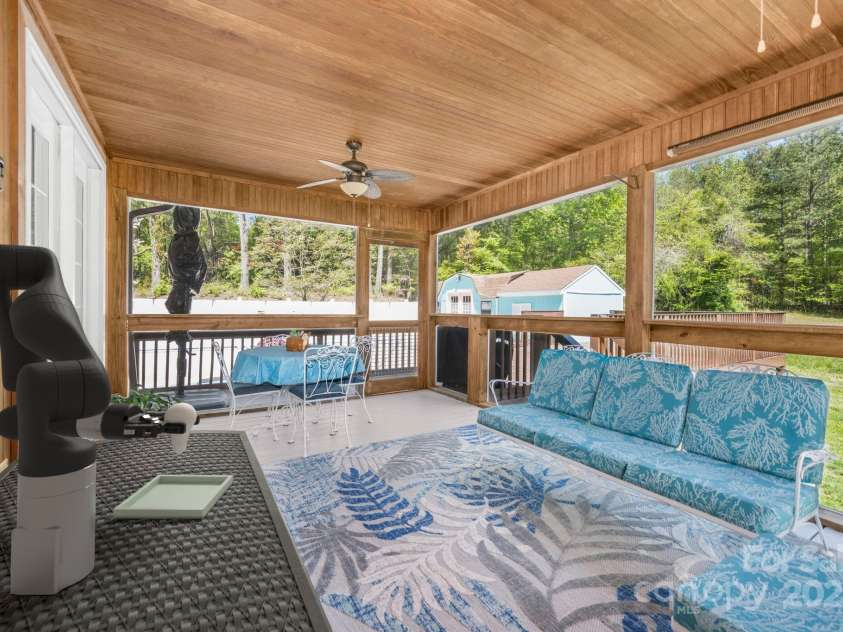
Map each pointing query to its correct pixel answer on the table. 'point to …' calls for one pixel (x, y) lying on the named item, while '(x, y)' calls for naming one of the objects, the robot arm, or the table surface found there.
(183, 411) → the lightbulb
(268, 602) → the table surface
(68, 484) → the robot arm
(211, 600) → the table surface
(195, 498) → the parts tray
